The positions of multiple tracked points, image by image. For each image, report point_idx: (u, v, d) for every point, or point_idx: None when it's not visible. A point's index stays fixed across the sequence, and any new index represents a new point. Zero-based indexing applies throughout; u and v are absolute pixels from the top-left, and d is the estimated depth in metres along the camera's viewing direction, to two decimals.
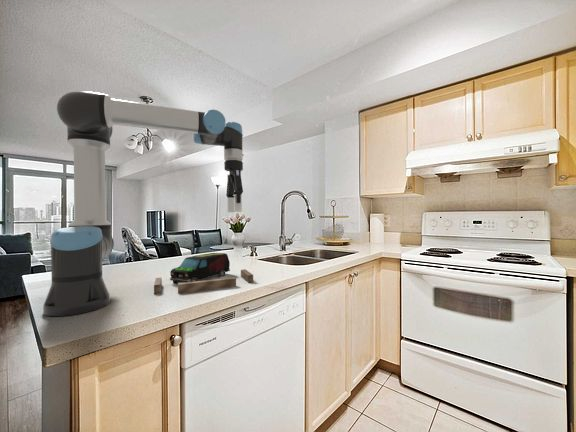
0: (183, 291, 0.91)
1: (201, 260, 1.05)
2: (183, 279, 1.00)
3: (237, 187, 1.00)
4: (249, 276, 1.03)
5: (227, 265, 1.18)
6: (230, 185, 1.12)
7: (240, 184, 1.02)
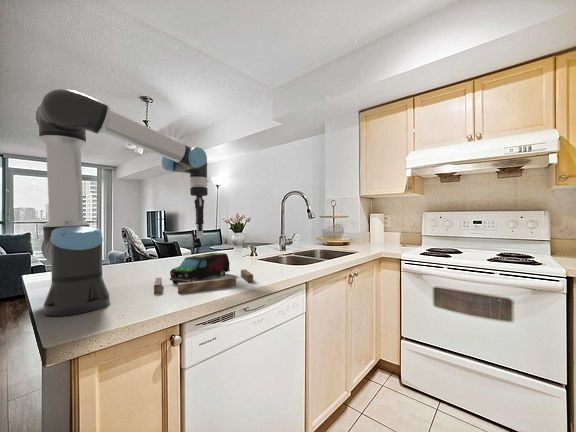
0: (183, 291, 0.91)
1: (201, 260, 1.05)
2: (183, 279, 0.99)
3: (198, 219, 1.18)
4: (249, 276, 1.03)
5: (227, 265, 1.18)
6: None
7: (201, 215, 1.18)
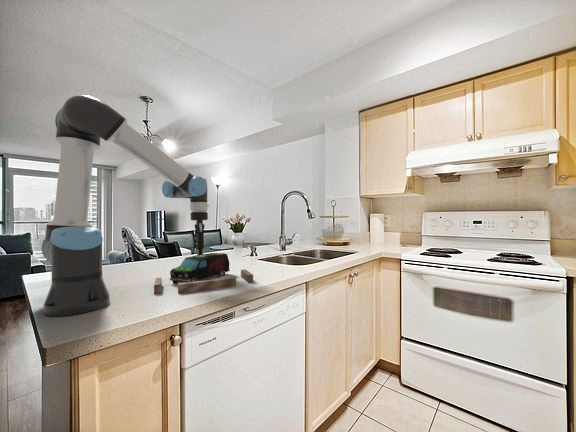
0: (183, 291, 0.91)
1: (201, 260, 1.05)
2: (183, 279, 0.99)
3: (199, 244, 1.18)
4: (249, 276, 1.03)
5: (227, 265, 1.18)
6: None
7: (202, 241, 1.18)
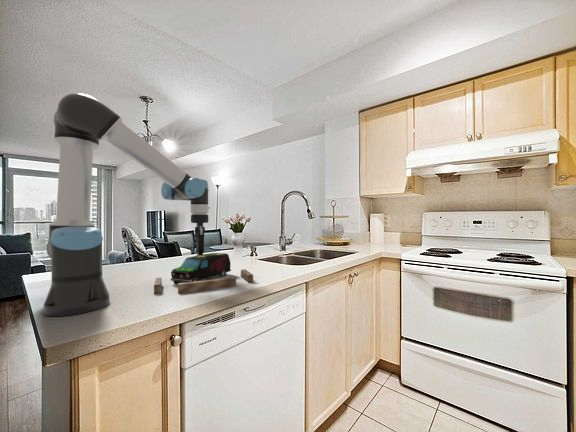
0: (183, 291, 0.91)
1: (202, 260, 1.04)
2: (184, 279, 0.98)
3: (199, 247, 1.14)
4: (249, 276, 1.03)
5: (228, 265, 1.17)
6: None
7: (202, 244, 1.15)
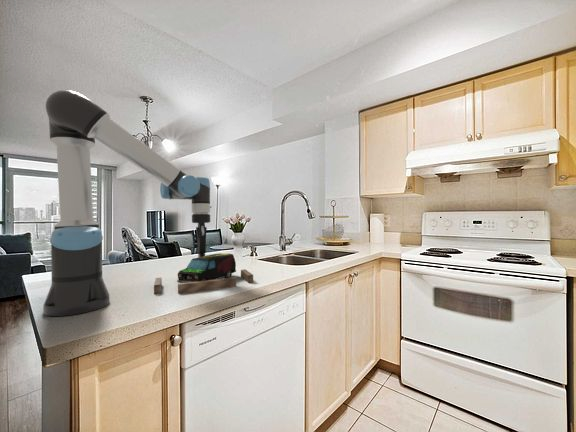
0: (183, 291, 0.91)
1: (210, 261, 1.01)
2: (192, 281, 0.95)
3: (200, 249, 1.10)
4: (249, 276, 1.03)
5: (233, 266, 1.15)
6: (199, 237, 1.14)
7: (204, 245, 1.10)
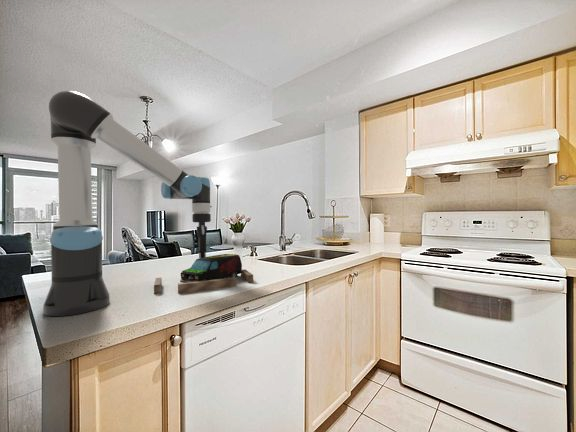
0: (183, 291, 0.91)
1: (212, 261, 1.01)
2: (193, 281, 0.96)
3: (201, 248, 1.11)
4: (249, 276, 1.03)
5: (239, 267, 1.14)
6: None
7: (204, 244, 1.11)
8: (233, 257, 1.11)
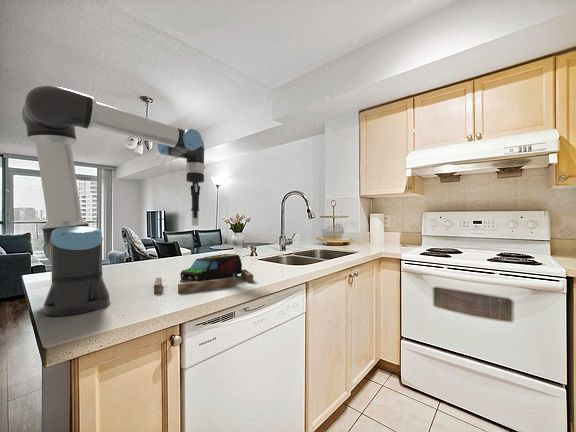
0: (183, 291, 0.91)
1: (211, 261, 1.01)
2: (193, 281, 0.96)
3: (194, 205, 1.15)
4: (249, 276, 1.03)
5: (239, 267, 1.13)
6: (193, 196, 1.19)
7: (197, 202, 1.15)
8: (233, 257, 1.11)
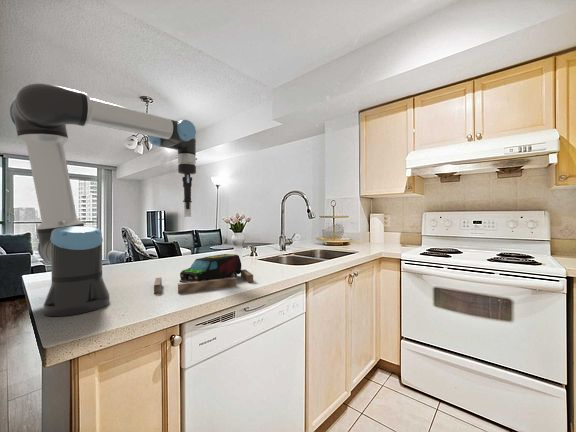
0: (183, 291, 0.91)
1: (211, 261, 1.01)
2: (192, 281, 0.96)
3: (186, 196, 1.16)
4: (249, 276, 1.03)
5: (239, 267, 1.13)
6: None
7: (189, 193, 1.16)
8: (233, 257, 1.11)
